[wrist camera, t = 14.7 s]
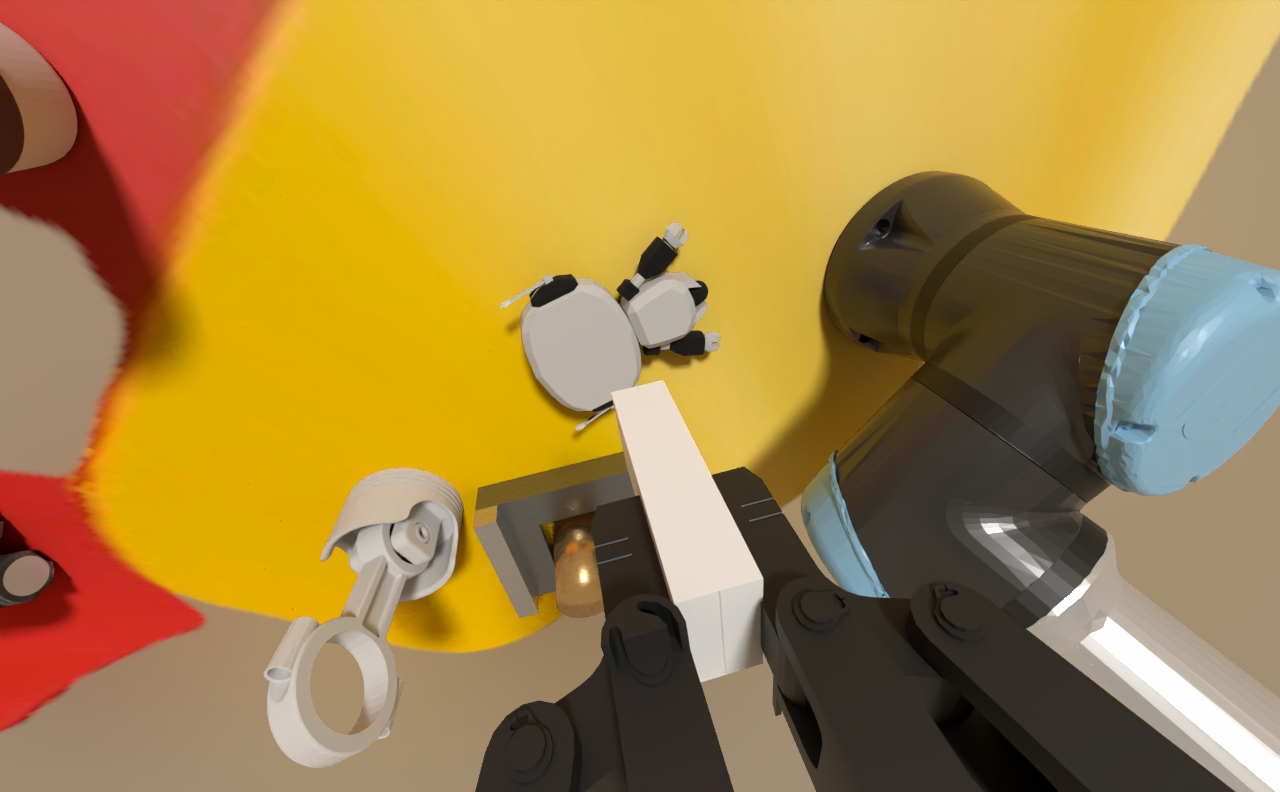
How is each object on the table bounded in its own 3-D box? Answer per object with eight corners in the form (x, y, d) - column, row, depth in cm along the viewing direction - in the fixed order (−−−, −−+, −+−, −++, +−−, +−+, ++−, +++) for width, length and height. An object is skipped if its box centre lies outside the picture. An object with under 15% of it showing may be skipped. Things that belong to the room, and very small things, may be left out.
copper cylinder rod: (595, 493, 47) (608, 574, 39) (603, 525, 50) (618, 608, 42) (547, 504, 47) (550, 589, 38) (558, 537, 50) (563, 623, 41)
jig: (640, 447, 45) (651, 481, 41) (657, 539, 53) (668, 576, 49) (478, 487, 44) (473, 527, 40) (520, 577, 51) (519, 618, 47)
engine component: (398, 559, 47) (484, 516, 46) (325, 818, 30) (459, 755, 29) (312, 494, 40) (409, 443, 40) (157, 772, 24) (322, 691, 23)
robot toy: (670, 204, 35) (491, 291, 34) (691, 214, 31) (492, 311, 31) (713, 337, 42) (564, 411, 41) (735, 358, 38) (572, 439, 38)
